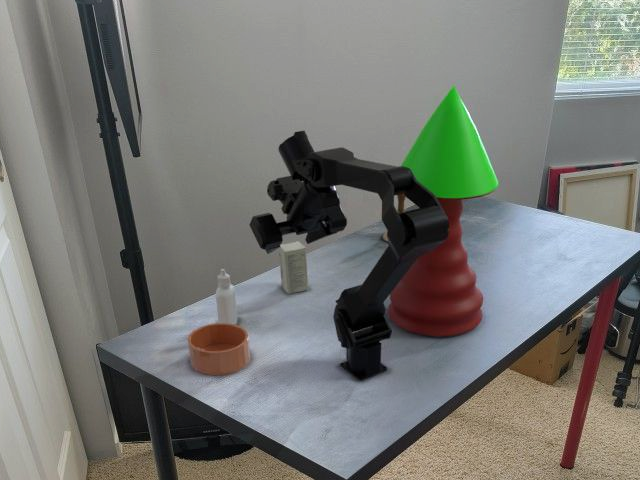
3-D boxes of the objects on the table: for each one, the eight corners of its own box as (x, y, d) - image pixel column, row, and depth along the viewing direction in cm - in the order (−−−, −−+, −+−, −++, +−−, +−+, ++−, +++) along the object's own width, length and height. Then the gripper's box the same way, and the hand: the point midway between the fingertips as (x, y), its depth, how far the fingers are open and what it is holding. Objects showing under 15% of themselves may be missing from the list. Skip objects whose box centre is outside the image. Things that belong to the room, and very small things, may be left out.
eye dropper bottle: (210, 325, 148) (204, 271, 141) (231, 315, 152) (225, 262, 145) (225, 332, 146) (219, 277, 139) (245, 322, 149) (241, 268, 143)
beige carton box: (301, 282, 165) (299, 240, 159) (308, 290, 162) (307, 247, 156) (279, 286, 163) (277, 244, 157) (286, 294, 160) (284, 251, 154)
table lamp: (488, 301, 158) (517, 78, 132) (473, 345, 143) (502, 102, 116) (401, 289, 163) (412, 70, 137) (376, 329, 147) (383, 92, 121)
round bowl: (260, 362, 137) (259, 340, 134) (207, 381, 131) (205, 359, 128) (232, 339, 144) (229, 317, 141) (180, 356, 138) (177, 334, 136)
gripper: (335, 155, 137) (309, 204, 151) (247, 172, 128) (228, 222, 142) (361, 205, 135) (332, 249, 149) (273, 225, 127) (252, 270, 140)
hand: (287, 246), depth 145 cm, fingers open, 9 cm apart
